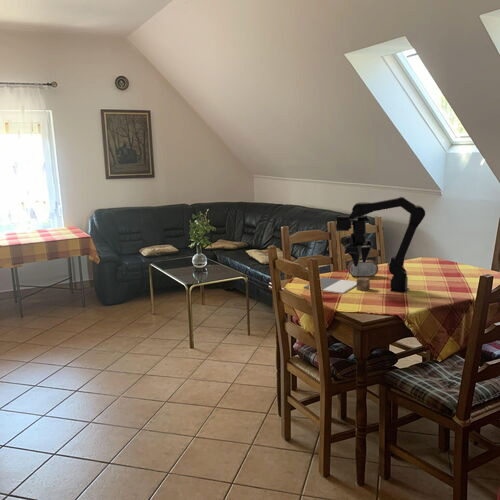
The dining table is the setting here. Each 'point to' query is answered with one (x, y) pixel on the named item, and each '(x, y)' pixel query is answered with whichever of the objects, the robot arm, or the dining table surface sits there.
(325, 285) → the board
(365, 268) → the tin
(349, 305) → the dining table surface
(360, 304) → the dining table surface
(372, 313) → the dining table surface
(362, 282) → the brown cylinder
